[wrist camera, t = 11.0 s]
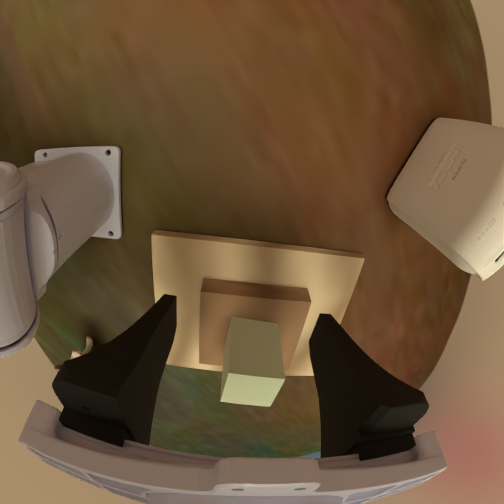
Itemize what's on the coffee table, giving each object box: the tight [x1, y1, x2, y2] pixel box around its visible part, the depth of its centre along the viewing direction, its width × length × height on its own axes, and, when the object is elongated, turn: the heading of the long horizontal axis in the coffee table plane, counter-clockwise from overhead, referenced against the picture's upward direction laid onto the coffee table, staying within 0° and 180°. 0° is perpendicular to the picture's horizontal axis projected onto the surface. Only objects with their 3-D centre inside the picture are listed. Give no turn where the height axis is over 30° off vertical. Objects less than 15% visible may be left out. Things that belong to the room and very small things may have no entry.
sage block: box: [220, 317, 285, 407], centre depth 21 cm, size 4×4×6 cm
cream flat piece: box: [151, 230, 365, 376], centre depth 25 cm, size 18×16×3 cm
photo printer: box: [387, 118, 504, 280], centre depth 14 cm, size 10×4×12 cm, turn 149°
